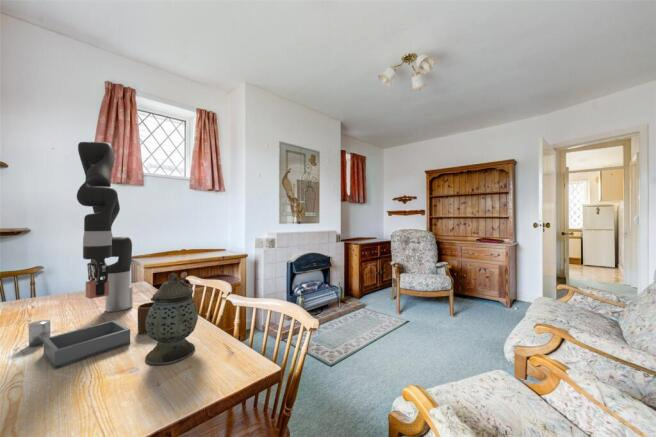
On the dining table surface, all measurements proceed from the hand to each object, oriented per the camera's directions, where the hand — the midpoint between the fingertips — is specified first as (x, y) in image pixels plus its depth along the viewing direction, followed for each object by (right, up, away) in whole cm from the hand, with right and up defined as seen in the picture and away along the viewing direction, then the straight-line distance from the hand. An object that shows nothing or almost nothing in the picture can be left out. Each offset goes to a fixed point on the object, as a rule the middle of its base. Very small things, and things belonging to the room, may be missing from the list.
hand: (97, 293), depth 92 cm
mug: (+14, -16, +8) cm, 23 cm away
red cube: (0, -1, 0) cm, 1 cm away
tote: (+2, -16, -5) cm, 17 cm away
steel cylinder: (-18, -16, -1) cm, 25 cm away
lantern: (+30, -16, -8) cm, 35 cm away
